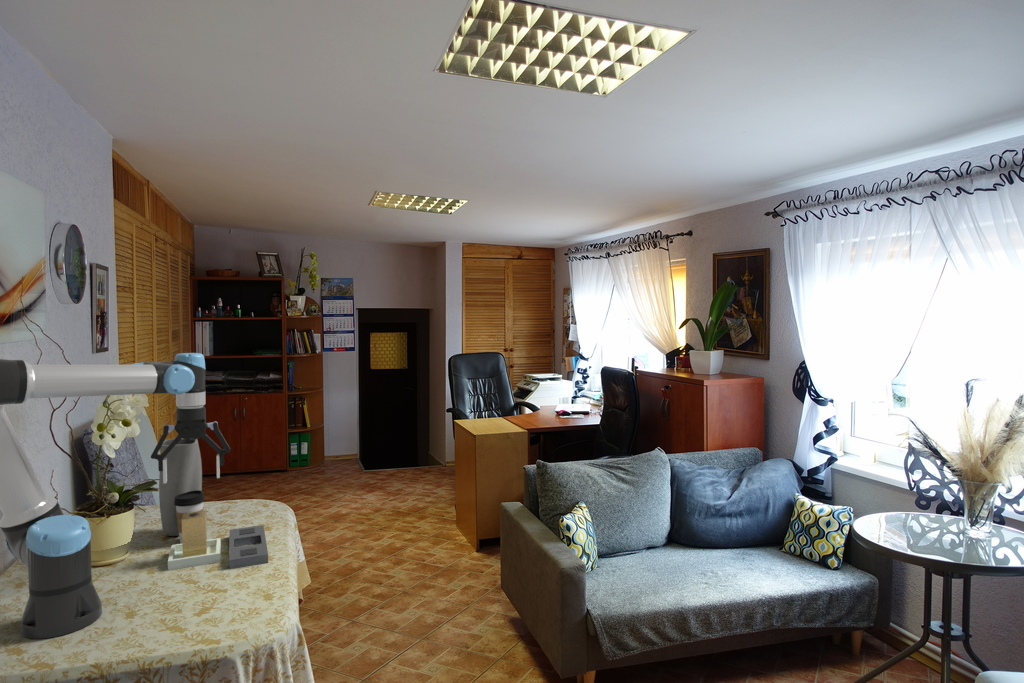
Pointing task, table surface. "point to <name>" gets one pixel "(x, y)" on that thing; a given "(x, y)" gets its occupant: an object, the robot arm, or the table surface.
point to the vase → (178, 479)
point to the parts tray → (179, 562)
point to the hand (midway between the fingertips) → (192, 479)
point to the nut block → (194, 534)
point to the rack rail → (247, 547)
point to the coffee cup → (188, 505)
